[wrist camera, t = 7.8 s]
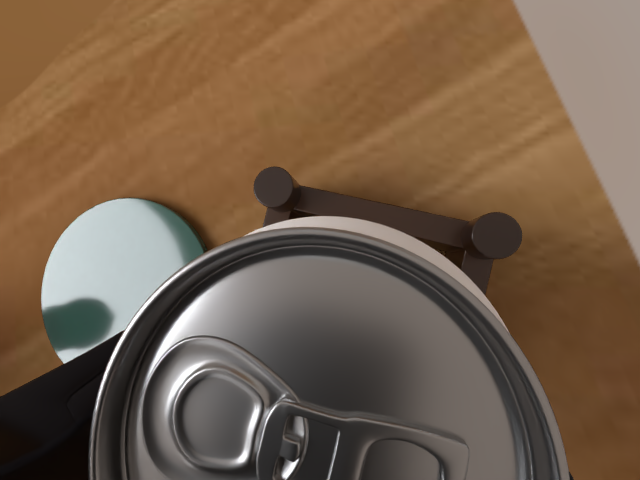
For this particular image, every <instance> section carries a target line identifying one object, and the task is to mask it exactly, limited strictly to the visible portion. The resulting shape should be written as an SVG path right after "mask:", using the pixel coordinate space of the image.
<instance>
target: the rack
mask: <svg viewBox="0 0 640 480" xmlns="http://www.w3.org/2000/svg"><path fill="white" fill-rule="evenodd" d="M254 194H255V196H256V198H257V200H258V201H259V202H260V203H261V204H263V205H264V206H266V207H268V208H267V212H266V216H265V220H264V224H263V227H266V226H268V225H271V224H275V223H278V222H282V221H286V220H291V219H296V218H303V217H314V216H337V217H348V218H355V219H361V220H366V221H370V222H374V223H378V224H381V225H384V226H387V227H390V228H393V229H396V230H398V231H400V232H403V233H405V234H407V235H409V236H412V237H413V238H415V239H417V240H419V241H421V242H423V243H424V244H426V245H428V246H430V247H431V248H433V249H438V250H442V251H446V258H447V259H448V260H449V261H451V262H452V263H453V264H454V265H456V266H457V267H458V268H459V269H460V270H461V271H462V272H463V273H464V274H466V275H467V276H468V277H469V278H470V279H471V280H472V282H473V283H474V284H475V285H476V286H477V287H478V288H479V289H480V290H481V292H482V293H483V294H484V295H485V293H486V289H487V285H488V280H489V276H490V272H491V268H492V263H493V259H502V258H506V257H509V256H511V255H512V254H513V253H515V252H516V251H517V249H518V248H519V246H520V244H521V241H522V231H521V228H520V226H519V224H518V223H517V222H516V220H515V219H513V218H512V217H511V216H509V215H507V214H504V213H500V212H493V213H488V214H485V215H483V216H481V217H478V218H476V219H474V220H471V221H464V220H460V219H455V218H450V217H446V216H441V215H436V214H432V213H427V212H422V211H418V210H413V209H408V208H404V207H399V206H394V205H389V204H385V203H380V202H375V201H371V200H366V199H361V198H357V197H352V196H347V195H343V194H338V193H333V192H329V191H324V190H319V189H314V188H310V187H305V186H300V185H299V184H298V183H297V181H296V180H295V179H294V178H293V177H292V176H291V175H290V174H289V173H288V172H287V171H286V170H284V169H283V168H280V167H269V168H266V169H264V170H263V171H261V172H260V173H259V174H258V176H257V177H256V179H255V182H254Z"/></svg>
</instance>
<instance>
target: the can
mask: <svg viewBox="0 0 640 480" xmlns="http://www.w3.org/2000/svg"><path fill="white" fill-rule="evenodd" d="M88 477H89V480H570V477H569V470H568V464H567V459H566V454H565V450H564V446H563V441H562V438H561V434H560V431H559V428H558V424H557V422H556V419H555V416H554V413H553V410H552V408H551V405H550V403H549V400H548V398H547V396H546V394H545V391H544V389H543V387H542V385H541V383H540V381H539V379H538V377H537V375H536V373H535V372H534V370H533V368H532V366H531V365H530V363H529V361H528V360H527V358H526V356H525V355H524V353H523V352H522V350H521V349H520V347H519V346H518V344H517V343H516V342H515V340H514V339H513V337H512V336H511V335H510V333H509V331H508V329H507V328H506V326H505V324H504V322H503V321H502V319H501V317H500V316H499V314H498V313H497V311H496V310H495V308H494V307H493V306H492V304H491V303H490V301H489V300H488V299H487V298H486V296H485V295H484V294H483V293H482V292H481V290H480V289H479V288H478V287H477V286H476V285H475V284H474V283H473V282H472V280H471V279H470V278H469V277H468V276H467V275H466V274H464V273H463V272H462V271H461V270H460V269H459V268H458V267H457V266H456V265H454V264H453V263H452V262H451V261H449V260H448V259H447V258H446V257H444V256H443V255H441V254H440V253H439V252H437V251H436V250H434V249H433V248H431V247H430V246H428V245H426V244H424V243H423V242H421V241H419V240H417V239H415V238H413V237H412V236H409V235H407V234H405V233H403V232H400V231H398V230H396V229H393V228H390V227H387V226H384V225H381V224H378V223H374V222H370V221H366V220H361V219H355V218H348V217H337V216H314V217H303V218H296V219H291V220H286V221H282V222H278V223H275V224H271V225H268V226H266V227H263V228H260V229H258V230H255V231H253V232H251V233H249V234H247V235H245V236H243V237H240V238H237V239H234V240H231V241H229V242H226V243H224V244H222V245H219V246H217V247H215V248H213V249H211V250H209V251H207V252H205V253H204V254H202V255H200V256H198V257H197V258H195V259H193V260H192V261H190V262H189V263H187V264H186V265H184V266H183V267H182V268H180V269H179V270H178V271H176V272H175V273H174V274H173V275H172V276H170V277H169V278H168V279H167V280H166V281H165V282H164V283H162V284H161V285H160V286H159V287H158V288H157V289H156V290H155V291H154V292H153V293H152V295H151V296H150V297H149V298H148V299H147V300H146V301H145V303H144V304H143V305H142V306H141V307H140V309H139V310H138V311H137V313H136V314H135V315H134V317H133V318H132V320H131V321H130V322H129V324H128V325H127V327H126V329H125V330H124V332H123V334H122V335H121V337H120V339H119V341H118V343H117V344H116V346H115V348H114V350H113V353H112V355H111V357H110V359H109V361H108V364H107V366H106V369H105V372H104V374H103V377H102V380H101V383H100V387H99V390H98V394H97V397H96V401H95V406H94V411H93V416H92V422H91V429H90V438H89V452H88Z"/></svg>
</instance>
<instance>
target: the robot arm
mask: <svg viewBox="0 0 640 480" xmlns="http://www.w3.org/2000/svg"><path fill="white" fill-rule="evenodd" d="M123 332H124V331H121V332H119V333H118V334H116V335H114V336H113V337H111V338H109V339H108V340H106V341H104V342H103V343H101V344H99V345H97V346H96V347H94V348H92V349H91V350H89V351H87V352H85V353H83V354H82V355H80V356H78V357H76V358H74V359H72V360H70V361H69V362H67V363H65V364H63V365H61V366H59V367H57V368H55V369H53V370H51V371H50V372H48V373H46V374H44V375H42V376H40V377H38V378H36V379H34V380H32V381H30V382H28V383H26V384H24V385H22V386H20V387H19V388H17V389H15V390H13V391H11V392H9V393H7V394H5V395H3V396H1V397H0V480H89V477H88V452H89V438H90V429H91V422H92V416H93V411H94V406H95V401H96V397H97V394H98V390H99V387H100V383H101V380H102V377H103V374H104V372H105V369H106V366H107V364H108V361H109V359H110V357H111V355H112V353H113V350H114V348H115V346H116V344H117V343H118V341H119V339H120V337H121V335H122V334H123ZM569 477H570V480H574V479H573V477H572V475H571V474H570V472H569Z"/></svg>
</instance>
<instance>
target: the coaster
mask: <svg viewBox="0 0 640 480" xmlns="http://www.w3.org/2000/svg"><path fill="white" fill-rule="evenodd" d="M207 251H208V250H207V248H206V246H205V244H204V242H203V240H202V239H201V237H200V235H199V234H198V233H197V231H196V230H195V229H194V227H193V226H192V225H191V224H190V223H189V222H188V221H187V220H186V219H185V218H184V217H182V216H181V215H180V214H179V213H177V212H176V211H174V210H172V209H171V208H169V207H167V206H165V205H162V204H159V203H157V202H154V201H150V200H145V199H141V198H119V199H114V200H110V201H106V202H104V203H101V204H98V205H96V206H94V207H92V208H91V209H89V210H87V211H86V212H84V213H83V214H81V215H80V216H79V217H78V218H76V219H75V220H74V221H73V222H72V223H71V224H70V225H69V226H68V227H67V229H66V230H65V231H64V232H63V233H62V235H61V236H60V238H59V239H58V241H57V242H56V244H55V246H54V248H53V250H52V252H51V254H50V257H49V259H48V262H47V265H46V268H45V272H44V276H43V283H42V292H41V305H42V315H43V321H44V325H45V329H46V332H47V335H48V338H49V340H50V342H51V345H52V347H53V348H54V350H55V352H56V354H57V355H58V357H59V358H60V359H61V361H62V362H63V363H64V364H65V363H67V362H69V361H70V360H72V359H74V358H76V357H78V356H80V355H82V354H83V353H85V352H87V351H89V350H91V349H92V348H94V347H96V346H97V345H99V344H101V343H103V342H104V341H106V340H108V339H109V338H111V337H113V336H114V335H116V334H118V333H119V332H121V331H124V330H125V329H126V327H127V325H128V324H129V322H130V321H131V320H132V318H133V317H134V315H135V314H136V313H137V311H138V310H139V309H140V307H141V306H142V305H143V304H144V303H145V301H146V300H147V299H148V298H149V297H150V296H151V295H152V293H153V292H154V291H155V290H156V289H157V288H158V287H159V286H160V285H161V284H162V283H164V282H165V281H166V280H167V279H168V278H169V277H170V276H172V275H173V274H174V273H175V272H176V271H178V270H179V269H180V268H182V267H183V266H184V265H186V264H187V263H189V262H190V261H192V260H193V259H195V258H197V257H198V256H200V255H202V254H204V253H205V252H207Z"/></svg>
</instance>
